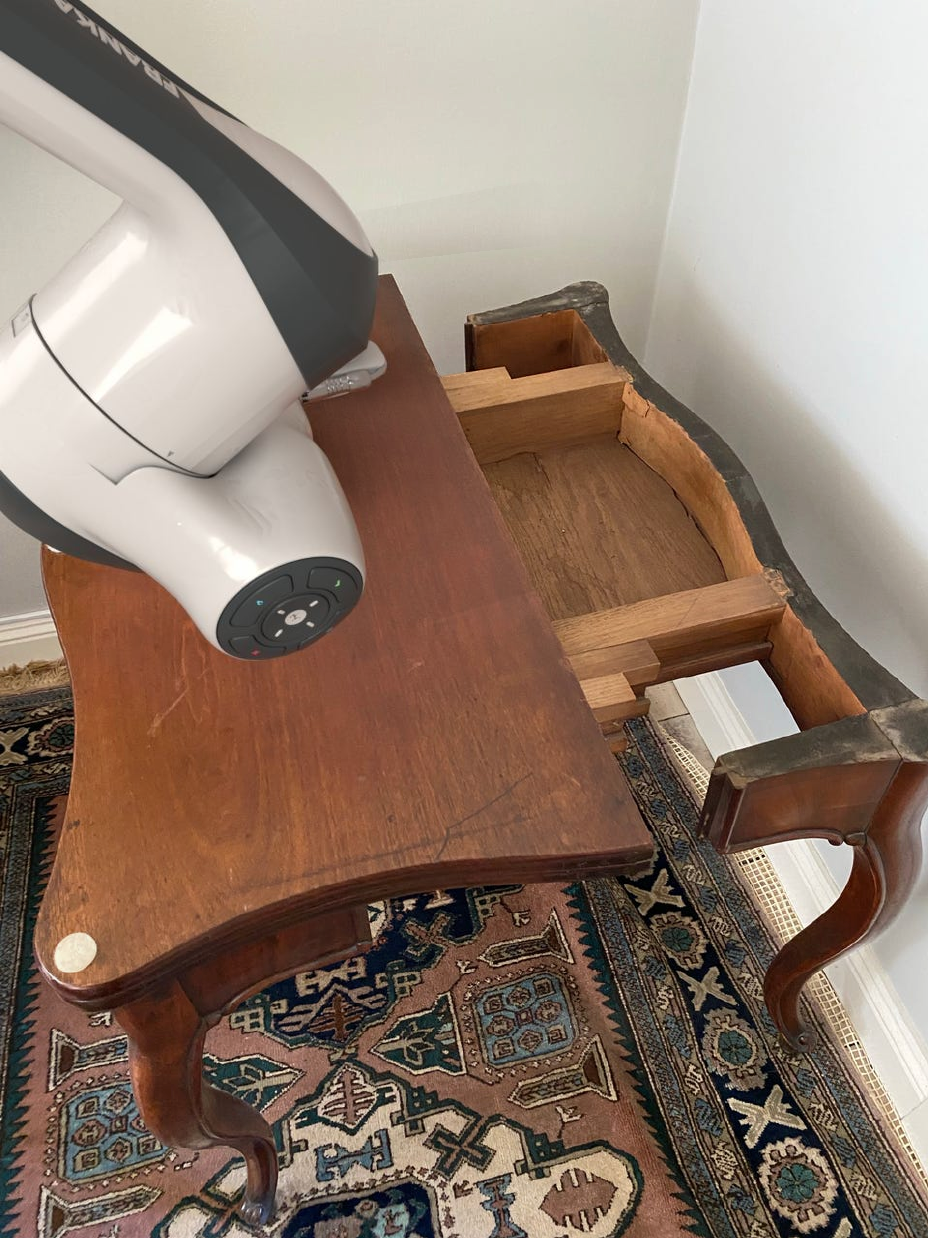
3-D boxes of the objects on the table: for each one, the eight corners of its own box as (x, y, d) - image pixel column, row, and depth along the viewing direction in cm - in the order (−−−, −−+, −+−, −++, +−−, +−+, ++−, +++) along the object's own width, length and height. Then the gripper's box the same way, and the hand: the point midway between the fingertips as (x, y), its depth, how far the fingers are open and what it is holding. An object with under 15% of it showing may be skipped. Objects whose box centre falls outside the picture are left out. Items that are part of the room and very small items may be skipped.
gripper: (394, 328, 50) (322, 222, 58) (2, 410, 44) (-14, 280, 53) (399, 423, 54) (332, 312, 63) (45, 507, 49) (24, 373, 58)
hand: (171, 298), depth 58 cm, fingers open, 8 cm apart
